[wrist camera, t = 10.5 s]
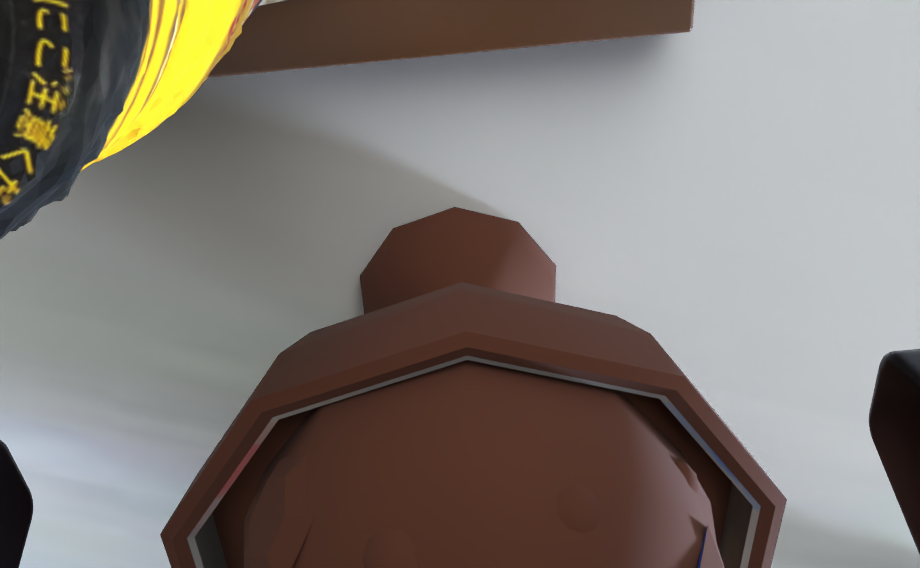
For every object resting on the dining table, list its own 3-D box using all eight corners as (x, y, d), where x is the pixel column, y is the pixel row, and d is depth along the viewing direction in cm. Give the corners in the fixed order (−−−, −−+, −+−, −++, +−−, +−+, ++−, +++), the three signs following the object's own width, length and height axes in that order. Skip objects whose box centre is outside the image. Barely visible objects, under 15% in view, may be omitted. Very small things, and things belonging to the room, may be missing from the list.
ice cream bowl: (582, 468, 27) (726, 1113, 14) (229, 403, 25) (23, 1083, 12) (725, 174, 21) (1169, 787, 9) (289, 62, 19) (31, 639, 7)
